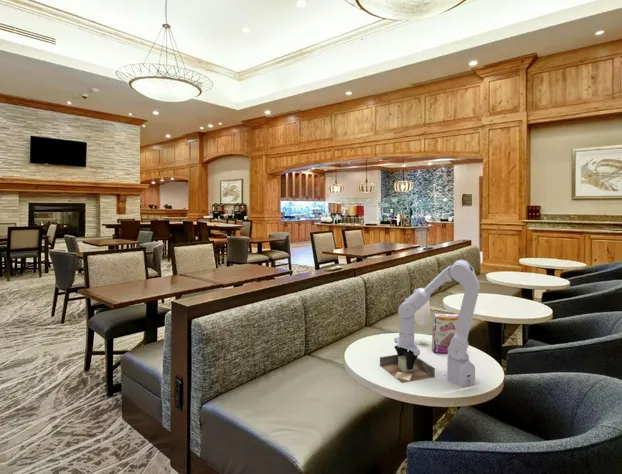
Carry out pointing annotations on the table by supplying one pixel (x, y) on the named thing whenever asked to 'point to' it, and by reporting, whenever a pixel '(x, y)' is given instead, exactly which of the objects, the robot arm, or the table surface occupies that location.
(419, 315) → the cup
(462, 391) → the table surface
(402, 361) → the sage cube
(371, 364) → the table surface
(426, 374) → the tray
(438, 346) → the candy bar box
